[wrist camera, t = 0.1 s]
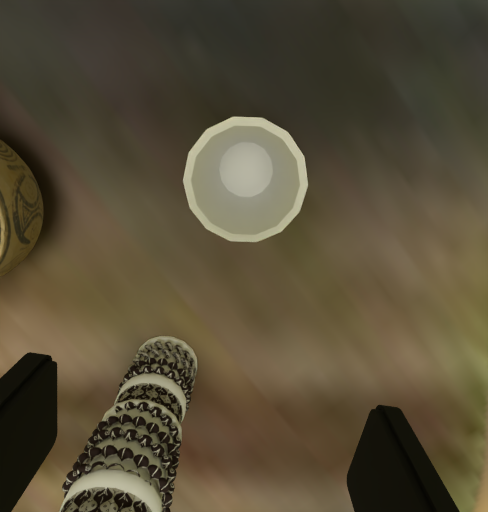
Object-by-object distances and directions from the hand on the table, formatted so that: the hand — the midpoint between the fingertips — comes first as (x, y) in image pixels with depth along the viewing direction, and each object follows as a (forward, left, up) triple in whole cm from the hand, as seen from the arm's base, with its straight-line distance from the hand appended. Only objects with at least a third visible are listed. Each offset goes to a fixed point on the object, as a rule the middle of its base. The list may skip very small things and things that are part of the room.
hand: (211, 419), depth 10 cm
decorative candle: (+22, -6, -31) cm, 39 cm away
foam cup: (-5, 0, -31) cm, 32 cm away
